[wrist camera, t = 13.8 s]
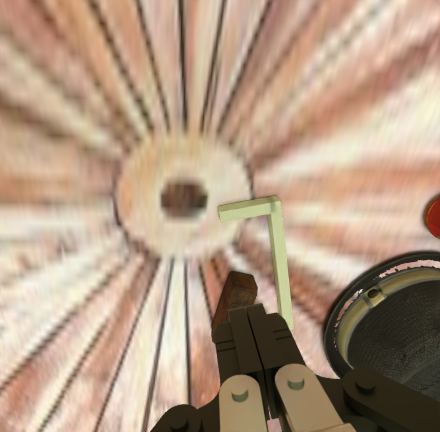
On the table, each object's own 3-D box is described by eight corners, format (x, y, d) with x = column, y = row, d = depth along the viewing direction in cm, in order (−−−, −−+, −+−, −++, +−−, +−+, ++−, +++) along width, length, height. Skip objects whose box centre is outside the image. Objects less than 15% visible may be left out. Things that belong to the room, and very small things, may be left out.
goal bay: (238, 329, 54) (241, 340, 51) (217, 206, 46) (219, 212, 44) (288, 319, 54) (293, 329, 52) (275, 195, 47) (280, 200, 44)
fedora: (493, 321, 59) (570, 377, 47) (361, 401, 63) (402, 472, 51) (442, 218, 51) (520, 255, 39) (292, 316, 54) (323, 378, 43)
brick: (228, 269, 50) (232, 286, 46) (253, 274, 51) (259, 291, 46) (209, 327, 53) (211, 348, 49) (233, 331, 54) (237, 352, 50)
